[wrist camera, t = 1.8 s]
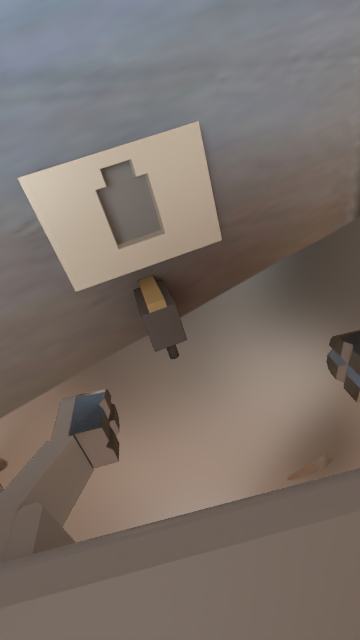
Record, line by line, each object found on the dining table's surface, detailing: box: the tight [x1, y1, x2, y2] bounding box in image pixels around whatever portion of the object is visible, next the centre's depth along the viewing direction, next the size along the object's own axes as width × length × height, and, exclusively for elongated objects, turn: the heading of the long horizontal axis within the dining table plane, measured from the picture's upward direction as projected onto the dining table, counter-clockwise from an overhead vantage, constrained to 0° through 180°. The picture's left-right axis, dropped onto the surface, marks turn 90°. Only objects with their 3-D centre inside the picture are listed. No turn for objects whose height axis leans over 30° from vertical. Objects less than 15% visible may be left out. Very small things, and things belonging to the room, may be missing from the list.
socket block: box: [18, 121, 222, 292], centre depth 31 cm, size 12×18×4 cm, turn 106°
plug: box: [134, 276, 187, 359], centre depth 36 cm, size 9×4×8 cm, turn 16°
